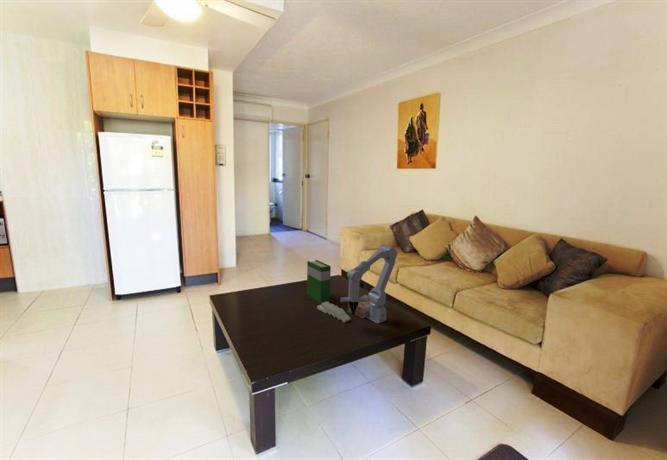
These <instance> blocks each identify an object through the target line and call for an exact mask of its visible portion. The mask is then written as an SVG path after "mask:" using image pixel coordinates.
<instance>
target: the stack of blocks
mask: <svg viewBox="0 0 667 460" xmlns="http://www.w3.org/2000/svg"><path fill="white" fill-rule="evenodd" d="M368 294H369V293H367V294H364V295H362V296H360V297H361V298H367V303H365V302H358V306H357V308H356V310H355V314H354V315H355V316H357V317H359V318H361V319H365V318H366V317H368V316H370V301H369V300H368ZM347 313H349V314H351V315H352V311H351V308H350V306H349V302H347ZM354 315H353V316H354Z"/></svg>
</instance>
